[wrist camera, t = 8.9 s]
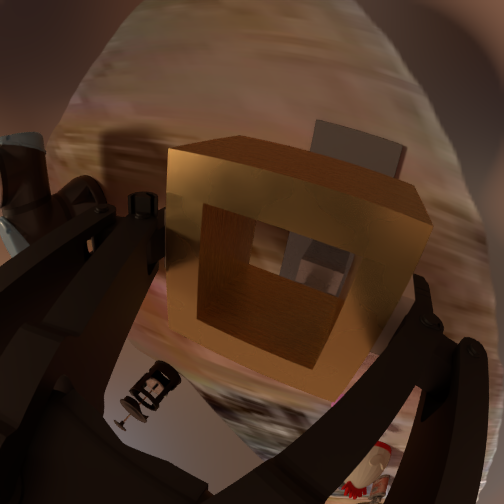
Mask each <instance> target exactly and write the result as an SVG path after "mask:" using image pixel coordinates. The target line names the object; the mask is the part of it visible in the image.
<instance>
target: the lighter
mask: <svg viewBox="0 0 504 504" xmlns="http://www.w3.org/2000/svg"><path fill="white" fill-rule="evenodd" d="M389 478H390V475H382V476H379V477H378V478H377V479H376V480H375V481H374V482H373V486H372V489H371V493H370V496H369V497H368V499H369V500H372V501H370V502H369V504H378V503H379V502H381V498H382V497H384V496H385V495H386V489H387V485H388V480H389Z"/></svg>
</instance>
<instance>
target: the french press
mask: <svg viewBox="0 0 504 504" xmlns="http://www.w3.org/2000/svg"><path fill="white" fill-rule="evenodd" d="M161 372H162V373H163V374H164V375H165V376H167V377H168V378H169V379H167V378H166V377H165V376H163V374H162V373H161ZM180 383H181V378H180V375H179V374H178V373H177V371H176V370H175V369H174V368H173V367H172V366H170V365H169V364H167V363H165V362H163V361H160V360H158V361H156V362H155V364H154V365H153V366H152V367H151V368H150V369H149V373H146V374H145V375H144V376H143V377H142V378H141V379H140V380H139V381H138V382H137V383H136V384H135V385H134V386H133V387H132V388H131V389H130V390H129V392H130V393H131V395H133V396H134V397H135V398H136V399H137V400H138V401H139V402H140V403H138V402H137V401H136V400H135V399H133V398H131V397H129V396H126V397H125V398H124V399H121V400H120V403H121V404H122V406H123V407H124V408H125V409H126V410H127V411H128V412H129V413H130V414H129V415H128V416H127V417H126V419H125V420H124V421H121V422H120V423H118V422H117V421H116V420H114V422H115V424H116V425H117V426H118V427H119V428H121V429H122V430H124V431H126V429H125V428H124V427H123V424H124V422H125V421H126V420H127V418H128V417H129V416H130V415H132V416H133V417H135V418H136V419H138V420H139V421H141V422H144V423H146V422H147V420H146V419H147V418H148V416H145V415H143V414H142V412H141V410H140V406H139V405H140V404H142V405H144V406H145V407H147V408H149V409H150V410H153V411H156V410H157V409H158V408H159V403H160V402H161V401H162V399H163V398H164V397H167V395H168V392H169V391H172V390H174V389H175V388H176V387H177V385H178V384H180ZM146 386H148V387H149V388H150V389H151V391H150V392H148V391H146V390H145V389H144V388H145V387H146ZM152 391H153V392H155V393H156V394H158V396H157V397H156V398H154V397H153V396H152V395H151V394H150V393H151V392H152ZM140 392H142V393H143V394H144V395H145V396H146V397H148V398H149V399H150V400H151V401H152V403H153V404H152V405H149V404H148V403H147V402H145V401H144V400H145V399H146V397H145V398H144V399H142V398H141V397H140V396H139V395H138V394H139V393H140Z"/></svg>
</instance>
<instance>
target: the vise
mask: <svg viewBox="0 0 504 504" xmlns="http://www.w3.org/2000/svg"><path fill="white" fill-rule="evenodd" d="M354 256H355V254H353V253H351V252H348V251H345V250H342V249H339V248H337V247H334V246H331V245H328V244H325V243H323V242H320V241H317V240H314V239H311V238H308V237H305V236H302V235H300V234H297V233H294V232H291V231H290V233H289V237H288V241H287V246H286V250H285V254H284V258H283V262H282V266H281V271H280V275H279V276H282V277H284V278H287V279H290V280H292V281H295V282H298V283H300V284H303V285H306V286H308V287H311V288H314V289H316V290H319V291H322V292H324V293H327V294H330V295H332V296H335V297H339V295H340V292H341V290H342V287H343V285H344V282H345V280H346V277H347V274H348V272H349V269H350V267H351V264H352V261H353V258H354Z"/></svg>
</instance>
